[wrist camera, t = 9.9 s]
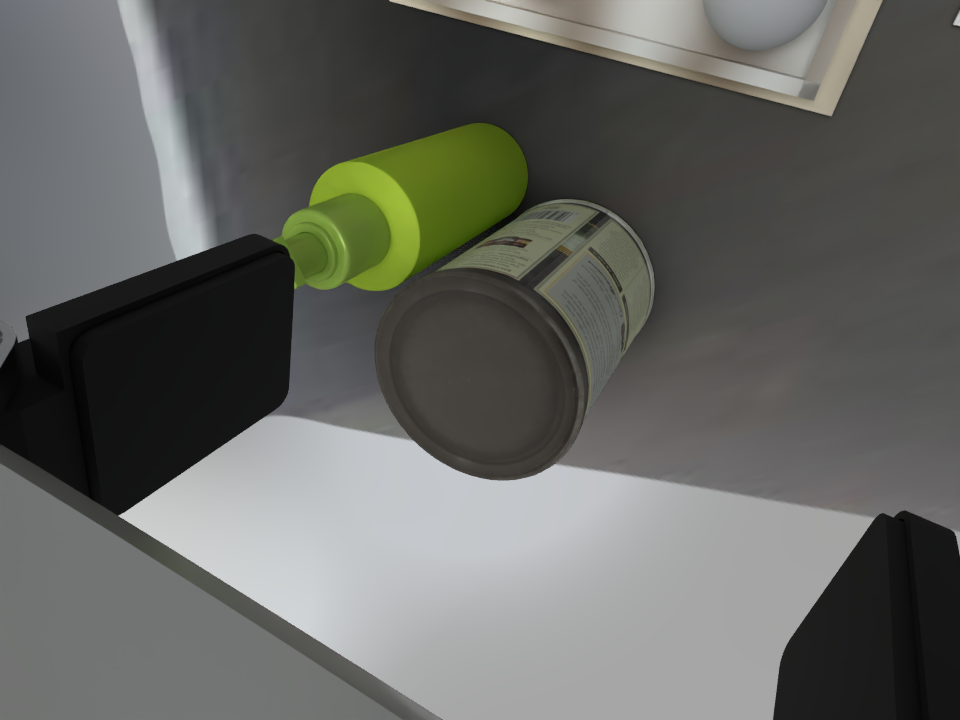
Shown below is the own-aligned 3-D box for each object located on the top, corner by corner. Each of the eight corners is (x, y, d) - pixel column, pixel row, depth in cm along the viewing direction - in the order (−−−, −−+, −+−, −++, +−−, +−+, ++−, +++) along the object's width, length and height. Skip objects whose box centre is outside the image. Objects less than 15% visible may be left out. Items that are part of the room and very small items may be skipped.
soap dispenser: (411, 153, 43) (154, 239, 26) (503, 105, 39) (270, 170, 23) (451, 240, 44) (229, 372, 28) (543, 201, 40) (351, 327, 24)
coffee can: (547, 381, 45) (449, 504, 34) (466, 247, 44) (335, 329, 32) (689, 321, 39) (628, 446, 28) (601, 163, 38) (499, 228, 27)
